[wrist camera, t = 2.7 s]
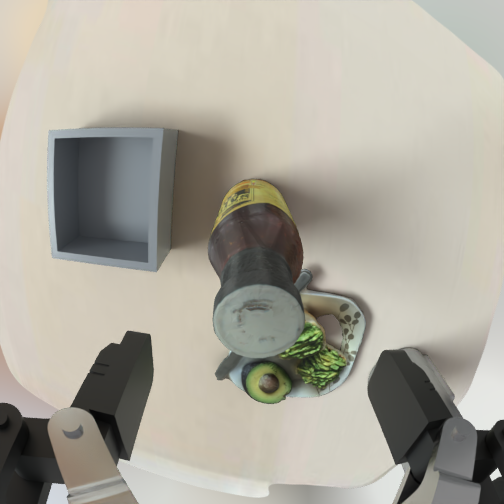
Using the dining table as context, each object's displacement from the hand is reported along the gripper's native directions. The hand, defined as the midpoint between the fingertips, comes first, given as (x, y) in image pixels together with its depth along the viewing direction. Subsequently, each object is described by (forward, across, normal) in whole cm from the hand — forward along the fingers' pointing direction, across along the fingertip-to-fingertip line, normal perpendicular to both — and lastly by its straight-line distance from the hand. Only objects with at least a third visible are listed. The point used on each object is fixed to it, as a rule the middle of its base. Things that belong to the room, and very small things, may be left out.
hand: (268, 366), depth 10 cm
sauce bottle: (+23, 0, 0) cm, 23 cm away
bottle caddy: (+23, +14, -1) cm, 27 cm away
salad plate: (+24, -7, +17) cm, 30 cm away
